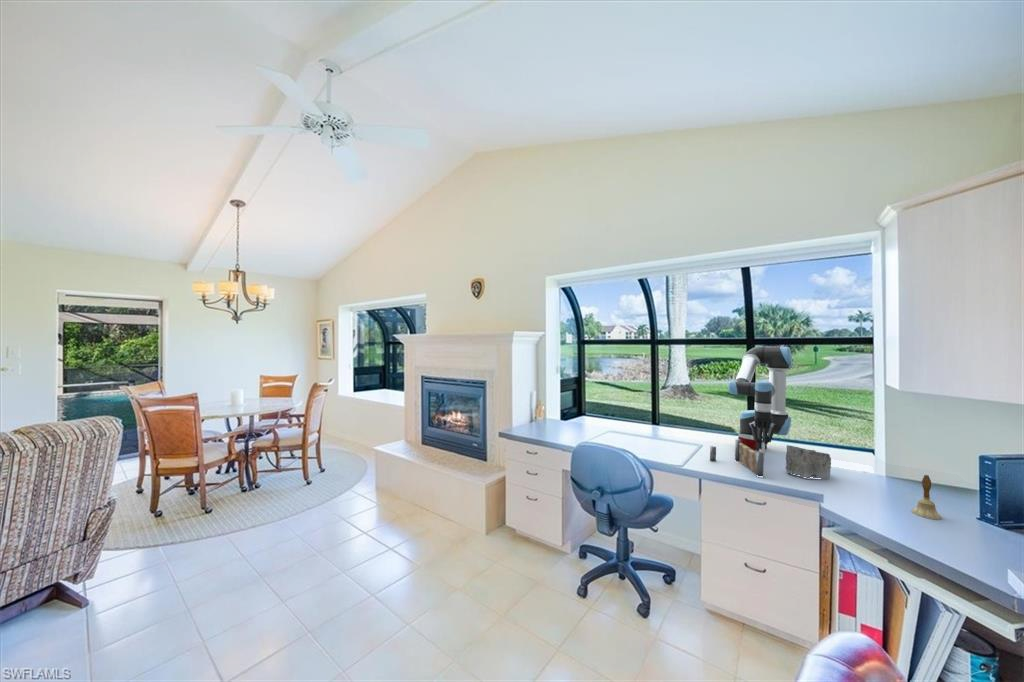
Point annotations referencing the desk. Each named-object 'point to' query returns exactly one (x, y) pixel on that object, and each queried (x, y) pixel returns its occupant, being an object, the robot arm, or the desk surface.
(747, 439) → the plastic cup
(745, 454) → the gate
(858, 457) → the desk surface
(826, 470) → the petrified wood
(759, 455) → the gate frame
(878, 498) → the desk surface
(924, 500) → the hand bell
